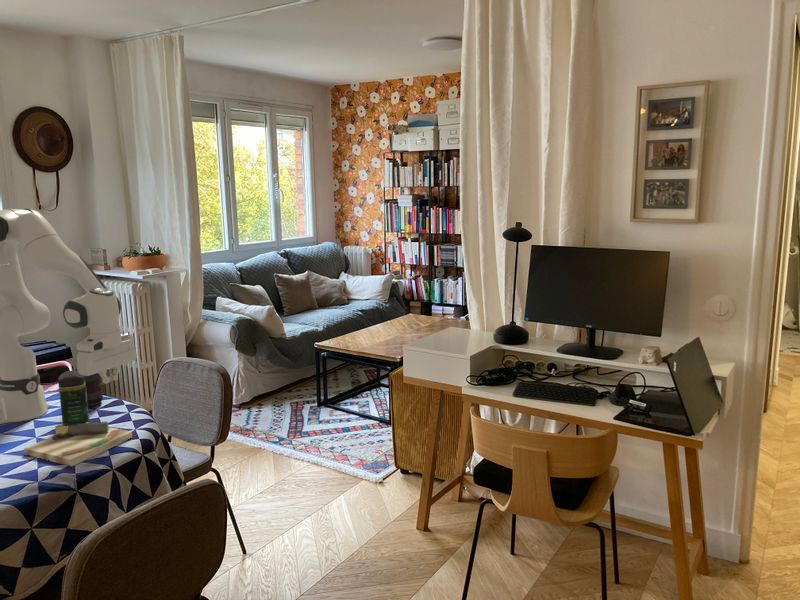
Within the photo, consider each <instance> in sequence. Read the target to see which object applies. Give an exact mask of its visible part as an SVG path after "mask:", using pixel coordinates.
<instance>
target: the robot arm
mask: <svg viewBox="0 0 800 600" xmlns="http://www.w3.org/2000/svg"><path fill="white" fill-rule="evenodd" d="M19 245H20V246H21V248H22V250H23V252H24V254H25V255H26V257H27V259H28V260H29V261H30V263H31V264H33V266H34V267H35V268H38V270H39V269H40V270H42V271H45V272H51V273H57V274H63V275H66V276H69V277H71V278H73V279H74V280H75V281H77V283H78V284H79V285H80V286H81V287H82V288H83V290H84V291H85V294H83V295H81V296H79V297H76V298H72V299H70V300H68V301H67V302H66V303H65V305H64V306H63V309H62V314H63V315H62V316H63V319H64V321H65V323H66V324H67V325H68V326H69V327H70V328H73V329H83V328H88V329H89V335H87V336H86V337H85V338H83V339H82V340H81V341H79V342H78V343H77V344H76V345H75V346H76V347H75V348H76V350H78V352H77V354H76V367H77V370H78V373H79V374H80V375H83V376H90V375H93V374H96V373H98V374H99V375H100V376H101V382H102V384H108V383H110V382H111V381H117V380H118V379H119V372H120V370H121V366H122V365H125V364H128V363H131V362H134V361H136V360H137V357H138V353H137V348H136V345H135V342H134V336H133V335H132V334H130V333H124V334H122V330H121V329H122V328H121V325H120V322H119V318H120V315H121V312H122V304H121V301H120V299H119V297H118V296H116V293H115V291H114V290H112V289H111V288H108V287H107V286H106V285H105V284H104V283H103V281H102V280H101V279H100V277H98V275H97V274H96V273H95V271H94V270H93V269H92V268H91V266H90V265H89V264H88V262H87V261H85V259H83V257H82V256H80V255H79V254H77V253H75V252H74V251H72V250H71V249H70V248H69V247H68V246H67V245H66V244H65V243H64V242H63V240H62V239H61V238H60V236H59V234H58V233H57V231H56V230H55V229H54V227H53V226H52V224H51V223H50V222H49V221H48V220H47V218H45V217H44V216H43V215H42V214H41V212H39V211H37V210H35V209H32V208H4V209H0V299H1V300H2V301H3V303H4V306H0V425H2V424H8V423H15V422H17V423H18V422H23V421H29V420H33V419H36V418H39V417H41V416H43V415H45V414H46V413H48V408H49V407H50V403H48V402H47V400H46V397H45V396H46V395H45V391H44V387H43V385H41V380H40V378H41V377H40V373H39V372H38V367H37V362H36V361H37V359H36V353H35V352H34V351H33V350H32V349H31V348H29V347H26V346H23V345H21V344H20V341H19V337H23V336H27V335H30V334H34V333H37V332H39V331H42V330H43V329H45V328H47V327H48V326H49V325H50V322H51V312H50V309H49V308H48V307H47V305H45V303H43V302H41V301H39V300H38V299H36V298H35V297H33V295H32V294H31V293H30V291H29V290H28V288H27V287H26V284H25V280H24V277H23V274H22V270H21V269H22V268H21V266H20V264H21V263H20V260H19V256H18V251H17V249H18V247H19ZM110 369H112V373H111V374H109V376H108V375H107V373H108V372H107V370H110Z"/></svg>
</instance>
